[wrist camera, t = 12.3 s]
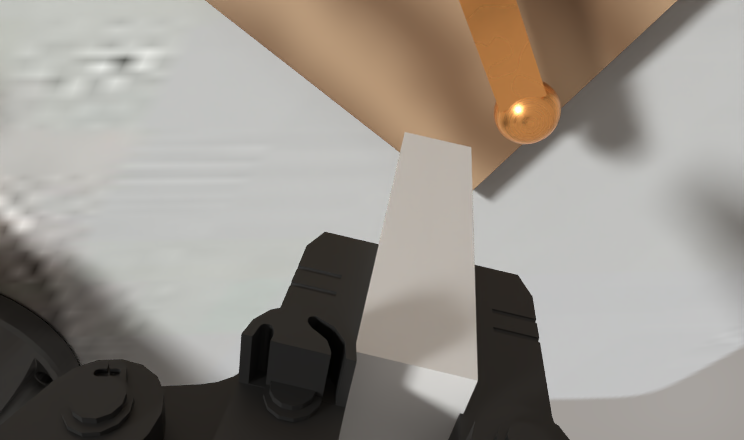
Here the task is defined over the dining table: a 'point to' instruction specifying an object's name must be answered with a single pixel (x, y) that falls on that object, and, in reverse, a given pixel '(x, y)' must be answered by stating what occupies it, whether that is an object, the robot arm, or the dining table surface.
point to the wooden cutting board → (435, 59)
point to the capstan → (512, 71)
